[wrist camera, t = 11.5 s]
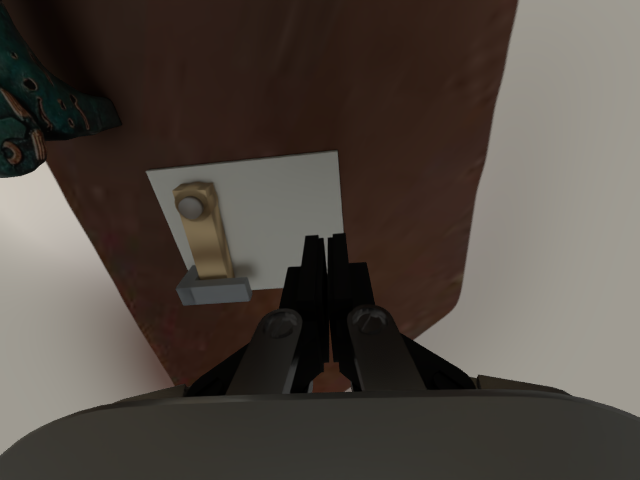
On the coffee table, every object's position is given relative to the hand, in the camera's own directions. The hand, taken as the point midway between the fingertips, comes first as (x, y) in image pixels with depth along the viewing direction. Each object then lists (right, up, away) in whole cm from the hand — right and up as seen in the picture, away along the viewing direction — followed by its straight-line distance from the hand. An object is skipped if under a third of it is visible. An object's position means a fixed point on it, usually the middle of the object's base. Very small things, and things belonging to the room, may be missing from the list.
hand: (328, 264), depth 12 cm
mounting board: (-9, +2, +28) cm, 30 cm away
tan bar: (-16, +1, +28) cm, 32 cm away
